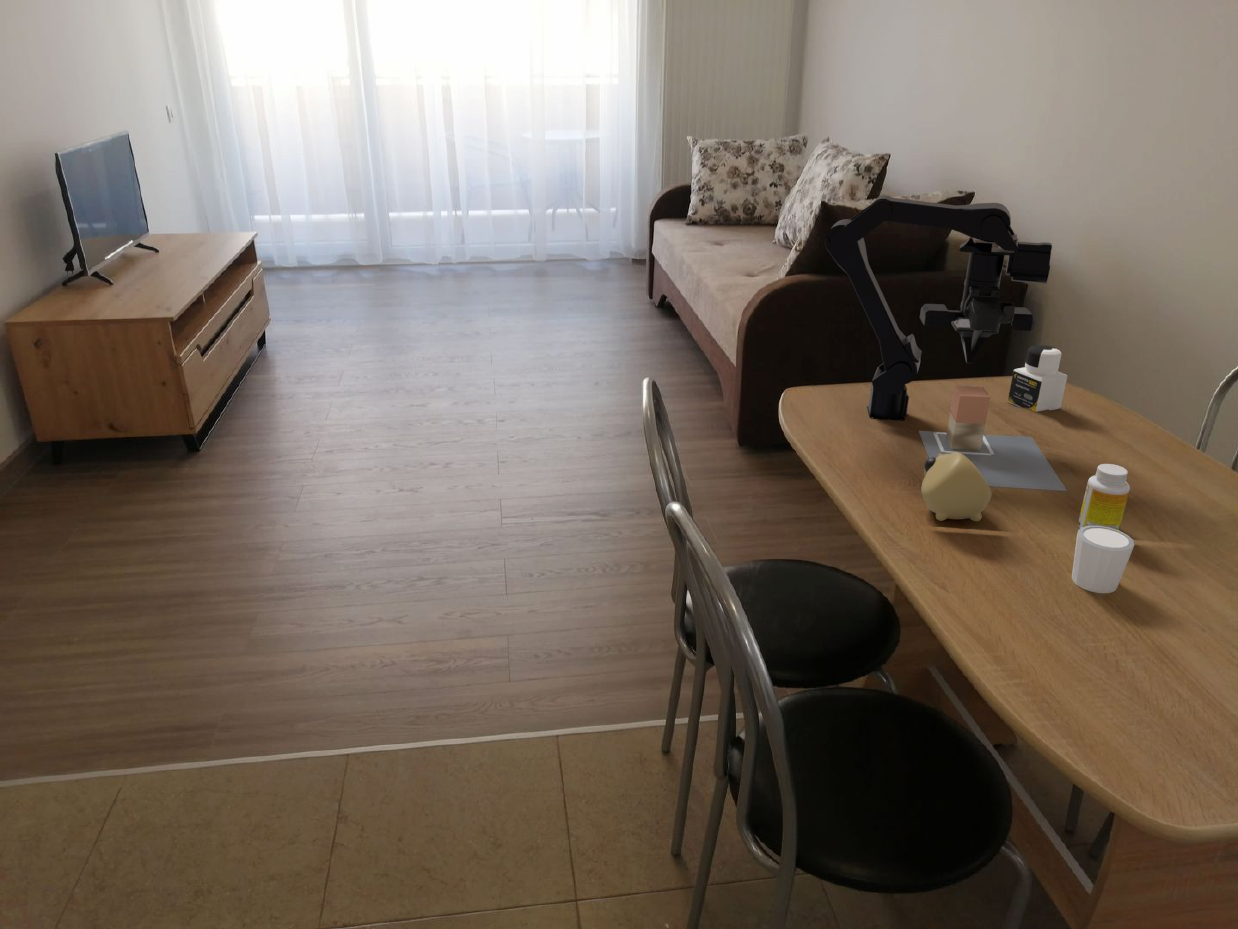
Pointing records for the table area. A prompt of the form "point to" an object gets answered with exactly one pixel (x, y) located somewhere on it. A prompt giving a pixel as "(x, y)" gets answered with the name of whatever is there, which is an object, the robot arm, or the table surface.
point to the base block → (964, 435)
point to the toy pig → (954, 487)
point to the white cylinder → (1100, 558)
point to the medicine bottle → (1038, 380)
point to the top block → (969, 404)
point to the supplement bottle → (1105, 497)
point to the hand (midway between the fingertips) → (968, 362)
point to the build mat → (1002, 460)
